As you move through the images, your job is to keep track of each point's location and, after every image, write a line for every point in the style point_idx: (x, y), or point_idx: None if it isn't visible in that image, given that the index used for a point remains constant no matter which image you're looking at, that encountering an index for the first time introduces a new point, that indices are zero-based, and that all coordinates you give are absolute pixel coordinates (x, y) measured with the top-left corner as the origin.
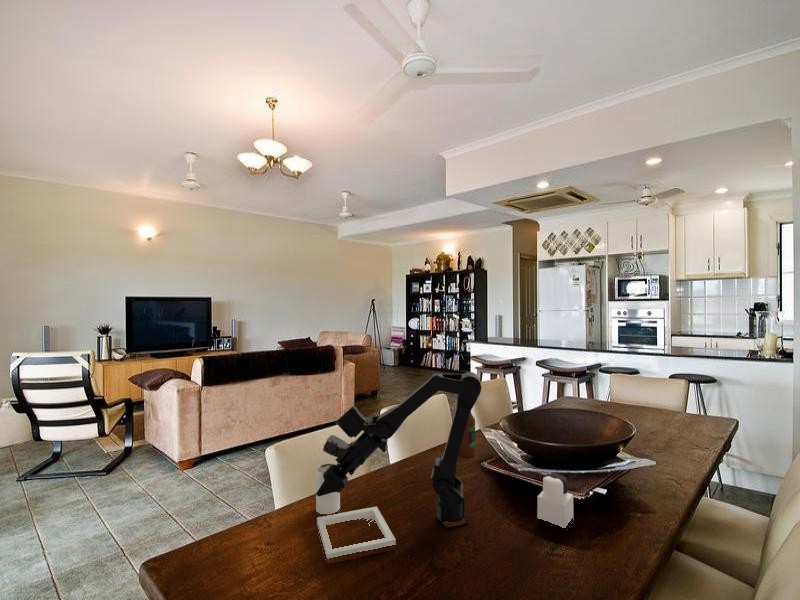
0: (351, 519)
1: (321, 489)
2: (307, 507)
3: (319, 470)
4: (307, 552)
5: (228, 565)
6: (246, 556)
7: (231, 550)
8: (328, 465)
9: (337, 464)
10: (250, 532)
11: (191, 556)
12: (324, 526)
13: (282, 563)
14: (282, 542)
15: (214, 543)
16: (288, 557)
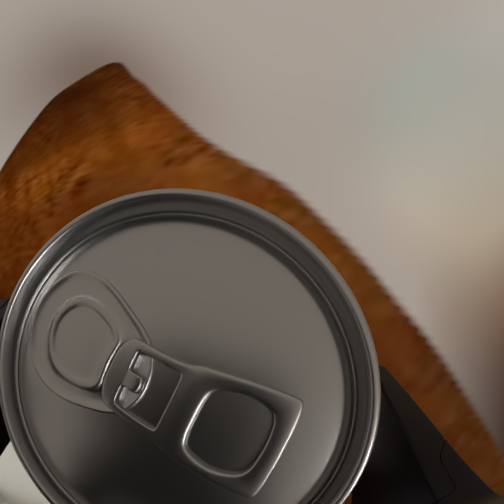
0: None
1: None
2: None
3: (122, 234)
4: (10, 293)
5: (54, 139)
6: (61, 156)
7: (96, 123)
8: (340, 400)
9: (431, 502)
10: (152, 130)
11: (115, 82)
12: None
13: (6, 236)
14: (68, 218)
15: (139, 90)
16: (14, 246)
